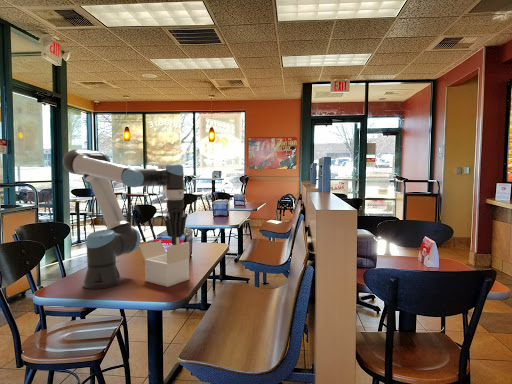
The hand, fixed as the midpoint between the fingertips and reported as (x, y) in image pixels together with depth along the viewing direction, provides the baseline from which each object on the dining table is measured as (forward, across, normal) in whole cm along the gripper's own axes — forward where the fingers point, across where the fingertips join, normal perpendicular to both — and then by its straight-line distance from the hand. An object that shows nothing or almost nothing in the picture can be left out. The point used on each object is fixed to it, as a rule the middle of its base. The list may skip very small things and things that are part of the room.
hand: (176, 251), depth 159 cm
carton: (+14, 0, +6) cm, 15 cm away
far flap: (+1, 0, +16) cm, 16 cm away
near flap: (0, 0, -1) cm, 1 cm away
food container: (+15, +25, +46) cm, 54 cm away
